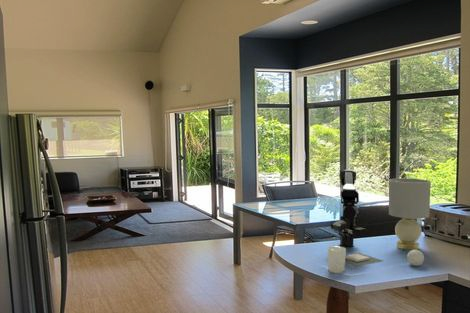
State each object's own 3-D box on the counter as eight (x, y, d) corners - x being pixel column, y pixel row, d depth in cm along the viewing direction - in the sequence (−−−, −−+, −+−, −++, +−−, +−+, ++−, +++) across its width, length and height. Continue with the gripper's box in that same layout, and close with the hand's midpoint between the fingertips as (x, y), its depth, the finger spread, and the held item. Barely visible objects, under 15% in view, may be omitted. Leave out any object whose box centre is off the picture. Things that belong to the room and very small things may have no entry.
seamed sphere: (422, 263, 222) (422, 248, 222) (425, 268, 215) (426, 252, 215) (399, 262, 224) (399, 247, 224) (402, 267, 217) (402, 251, 216)
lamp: (383, 248, 249) (385, 180, 246) (392, 241, 266) (394, 177, 264) (424, 254, 238) (426, 183, 236) (431, 246, 255) (433, 179, 253)
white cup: (335, 274, 205) (335, 251, 205) (323, 269, 212) (323, 247, 211) (349, 272, 209) (349, 249, 208) (337, 267, 216) (338, 245, 215)
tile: (344, 255, 228) (357, 259, 222) (357, 253, 232) (369, 257, 226) (344, 258, 228) (357, 262, 222) (357, 256, 233) (369, 260, 226)
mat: (331, 259, 229) (331, 257, 229) (359, 254, 238) (359, 252, 238) (356, 267, 215) (356, 266, 215) (384, 262, 224) (384, 260, 224)
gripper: (322, 212, 235) (322, 244, 236) (350, 219, 219) (350, 253, 220) (339, 210, 241) (338, 241, 242) (368, 217, 225) (367, 249, 226)
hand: (347, 246), depth 232 cm, fingers closed
